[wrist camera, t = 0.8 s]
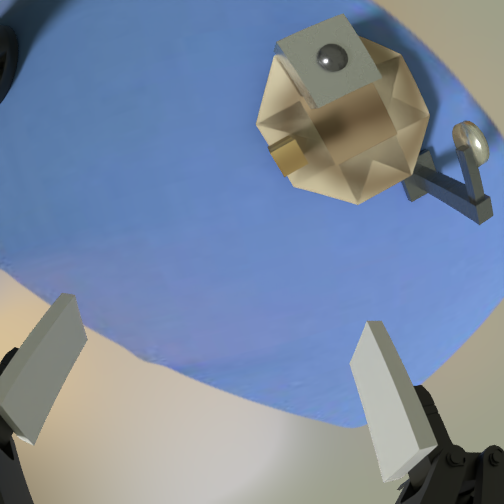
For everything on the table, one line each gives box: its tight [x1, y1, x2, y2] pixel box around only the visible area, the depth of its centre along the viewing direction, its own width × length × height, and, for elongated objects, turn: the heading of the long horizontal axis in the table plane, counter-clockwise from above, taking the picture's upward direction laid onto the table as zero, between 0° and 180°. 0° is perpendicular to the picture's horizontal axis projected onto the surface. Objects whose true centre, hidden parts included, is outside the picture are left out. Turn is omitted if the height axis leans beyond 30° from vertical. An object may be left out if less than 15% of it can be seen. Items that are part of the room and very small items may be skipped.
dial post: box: [401, 121, 493, 225], centre depth 26 cm, size 10×5×15 cm, turn 31°
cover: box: [274, 14, 382, 109], centre depth 23 cm, size 7×7×5 cm
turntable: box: [256, 36, 430, 205], centre depth 26 cm, size 18×18×7 cm
